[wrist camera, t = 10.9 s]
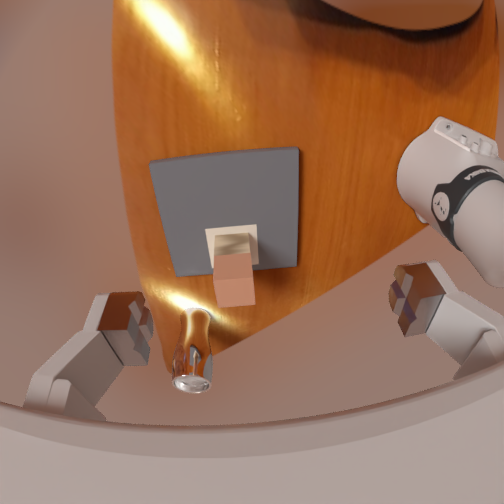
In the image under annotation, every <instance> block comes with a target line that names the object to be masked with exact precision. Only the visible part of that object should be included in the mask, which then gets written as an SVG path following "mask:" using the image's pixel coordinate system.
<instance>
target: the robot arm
mask: <svg viewBox="0 0 504 504" xmlns="http://www.w3.org/2000/svg"><path fill="white" fill-rule="evenodd" d="M447 125H448V128H446V127H447ZM397 186H398V190H399V193H400V195H401V197H402V199H403V200H404V201H405V202H406V203H407V204H408V205H409V206H410V207H412V208H413V209H414V211H415V213H416V216H417V218H418V219H419V220H420V221H421V222H422V223H429V224H430V225H431V226H432V227H433V228H434V229H435V230H436V231H437V232H438V233H439V234H440V235H442V236H443V237H445V238H447V240H448V241H449V242H450V243H451V244H452V245H453V246H455V248H456V249H457V250H459V251H461V252H463V253H464V254H465V255H466V257H467V258H468V259H469V261H470V262H471V263H472V264H473V266H474V267H475V268H476V270H477V271H478V272H479V274H480V275H481V276H482V278H483V279H484V280H485V281H486V282H487V283H488V284H489V285H491V286H493V287H497V288H504V162H503V160H502V159H500V158H499V157H498V147H497V144H496V142H495V141H494V140H493V139H491V138H489V137H487V136H485V135H483V134H481V133H479V132H476V131H474V130H472V129H470V128H468V127H466V126H463V125H461V124H459V123H456V122H454V121H452V120H449V119H447V118H444V117H438V118H437V119H436V120H435V121H434V122H433V124H432V125H431V127H430V128H429V129H428V130H427V131H426V132H425V133H423V134H421V135H420V136H418V137H417V138H416V139H415V140H414V141H412V142H411V144H410V145H409V146H408V147H407V149H406V150H405V152H404V154H403V155H402V158H401V160H400V163H399V166H398V171H397ZM394 277H395V279H396V280H395V281H394V282H393V283H392V284H391V285H390V289H389V302H390V306H391V308H392V311H393V312H394V313H395V314H397V315H398V316H399V319H398V324H399V326H400V328H401V330H402V332H403V335H404V337H407V336H412V335H418V334H423V333H426V335H427V336H428V337H429V338H431V339H432V340H433V341H434V342H435V343H436V344H438V345H439V346H440V347H441V348H442V349H443V350H444V351H446V352H447V353H448V354H449V355H450V356H451V357H452V358H453V359H455V360H456V361H457V362H458V363H459V364H460V365H461V367H460V368H459V370H458V371H457V372H456V373H455V375H454V377H453V379H454V381H451V382H448V383H445V384H442V385H439V386H437V387H434V388H430V389H427V390H424V391H421V392H417V393H414V394H410V395H407V396H403V397H400V398H396V399H392V400H388V401H384V402H381V403H376V404H372V405H368V406H363V407H359V408H354V409H349V410H344V411H339V412H333V413H328V414H322V415H316V416H309V417H302V418H295V419H287V420H279V421H269V422H259V423H247V424H231V425H201V426H174V425H171V426H170V425H145V424H129V423H118V422H108V421H106V418H105V417H104V415H103V414H102V413H101V412H99V411H98V410H97V409H96V408H95V405H96V404H97V403H98V401H99V400H100V399H101V397H102V396H103V395H104V393H105V392H106V391H107V389H108V388H109V386H110V385H111V384H112V383H113V381H114V380H115V379H116V377H117V376H118V375H119V373H120V372H121V371H122V369H123V368H124V366H146V365H148V358H149V353H150V347H149V345H148V343H147V342H148V341H149V340H150V339H151V338H152V336H153V319H152V315H151V312H150V310H149V309H148V308H146V307H145V306H144V303H145V298H144V296H143V294H142V292H139V291H137V292H113V293H98V294H97V295H96V296H95V299H94V301H93V304H92V307H91V309H90V312H89V314H88V317H87V320H86V322H85V325H84V328H83V331H79V332H77V333H76V334H75V335H74V336H73V337H72V338H71V339H70V340H69V341H68V342H67V343H66V344H64V345H63V346H62V347H61V348H60V349H59V350H58V351H57V352H56V353H55V354H54V355H53V356H52V357H51V358H50V359H49V360H48V361H47V362H46V363H45V364H44V365H43V366H41V367H40V368H39V370H37V371H36V372H35V373H34V374H33V377H32V380H31V383H30V386H29V389H28V392H27V395H26V398H25V402H24V405H23V407H20V406H15V405H12V404H7V403H4V402H0V504H504V317H503V316H502V315H500V314H499V313H497V312H496V311H494V310H492V309H491V308H489V307H488V306H486V305H484V304H483V303H481V302H479V301H478V300H476V299H475V298H473V297H471V296H470V295H468V294H466V293H465V292H463V291H461V292H459V291H458V289H457V288H456V286H455V285H454V283H453V282H452V280H451V279H450V277H449V276H448V275H447V273H446V272H445V270H444V269H443V267H442V266H441V265H440V263H439V262H438V261H436V260H431V261H426V262H419V263H413V264H405V265H398V266H397V267H396V269H395V271H394Z"/></svg>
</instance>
